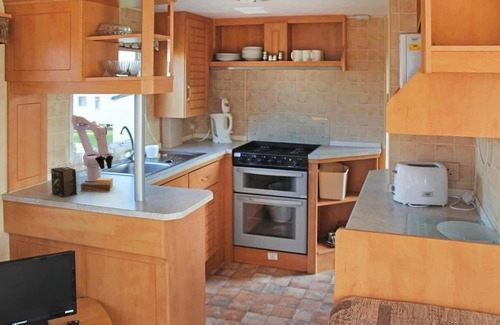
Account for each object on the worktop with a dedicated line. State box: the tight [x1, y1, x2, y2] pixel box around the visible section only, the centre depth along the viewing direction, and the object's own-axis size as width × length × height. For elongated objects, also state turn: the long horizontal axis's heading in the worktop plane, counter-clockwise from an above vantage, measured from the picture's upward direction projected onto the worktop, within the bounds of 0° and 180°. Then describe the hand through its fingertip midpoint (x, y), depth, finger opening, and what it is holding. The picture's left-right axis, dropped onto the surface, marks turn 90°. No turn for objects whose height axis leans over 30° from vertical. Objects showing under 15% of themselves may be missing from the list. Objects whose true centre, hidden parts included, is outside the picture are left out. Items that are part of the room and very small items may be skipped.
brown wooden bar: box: [80, 182, 111, 193], centre depth 289 cm, size 3×16×4 cm, turn 89°
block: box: [95, 177, 114, 189], centre depth 299 cm, size 6×8×5 cm
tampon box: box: [50, 166, 78, 198], centre depth 278 cm, size 11×9×15 cm
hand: (106, 168), depth 302 cm, fingers open, 7 cm apart
